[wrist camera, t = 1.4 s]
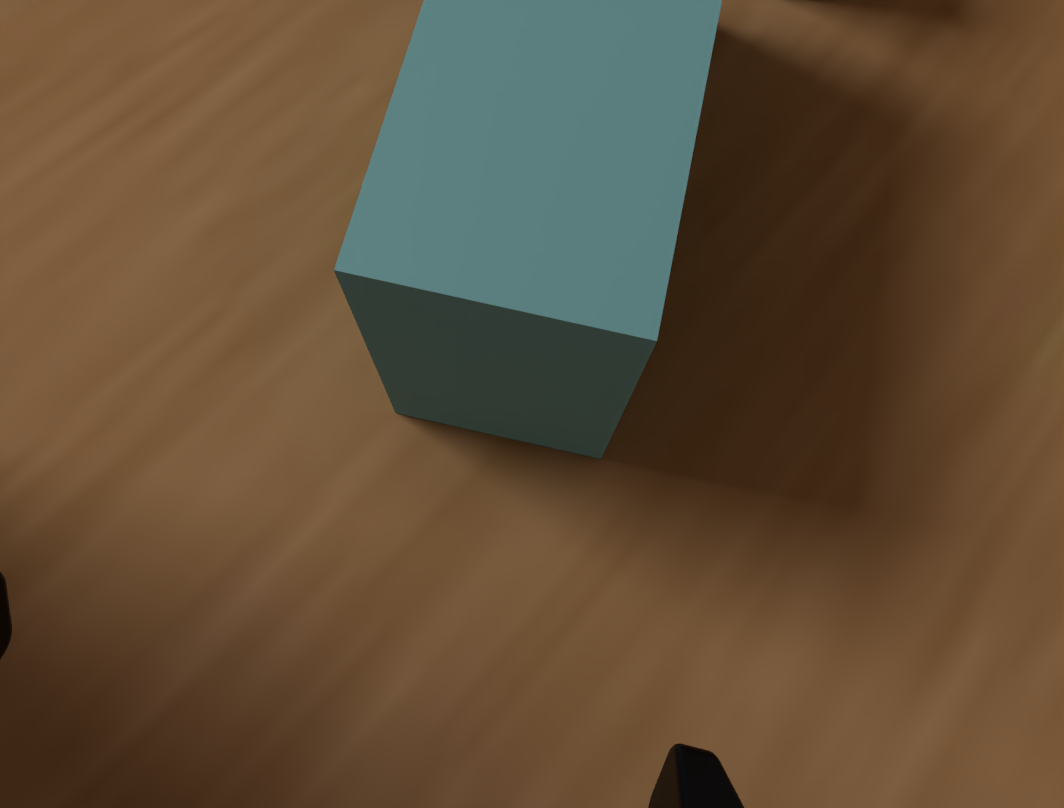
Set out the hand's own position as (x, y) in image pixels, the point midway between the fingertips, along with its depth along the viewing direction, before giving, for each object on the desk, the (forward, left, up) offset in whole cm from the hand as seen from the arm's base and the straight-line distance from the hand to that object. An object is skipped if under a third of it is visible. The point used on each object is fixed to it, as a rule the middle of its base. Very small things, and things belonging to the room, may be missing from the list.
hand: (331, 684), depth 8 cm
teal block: (+15, 0, -14) cm, 20 cm away
